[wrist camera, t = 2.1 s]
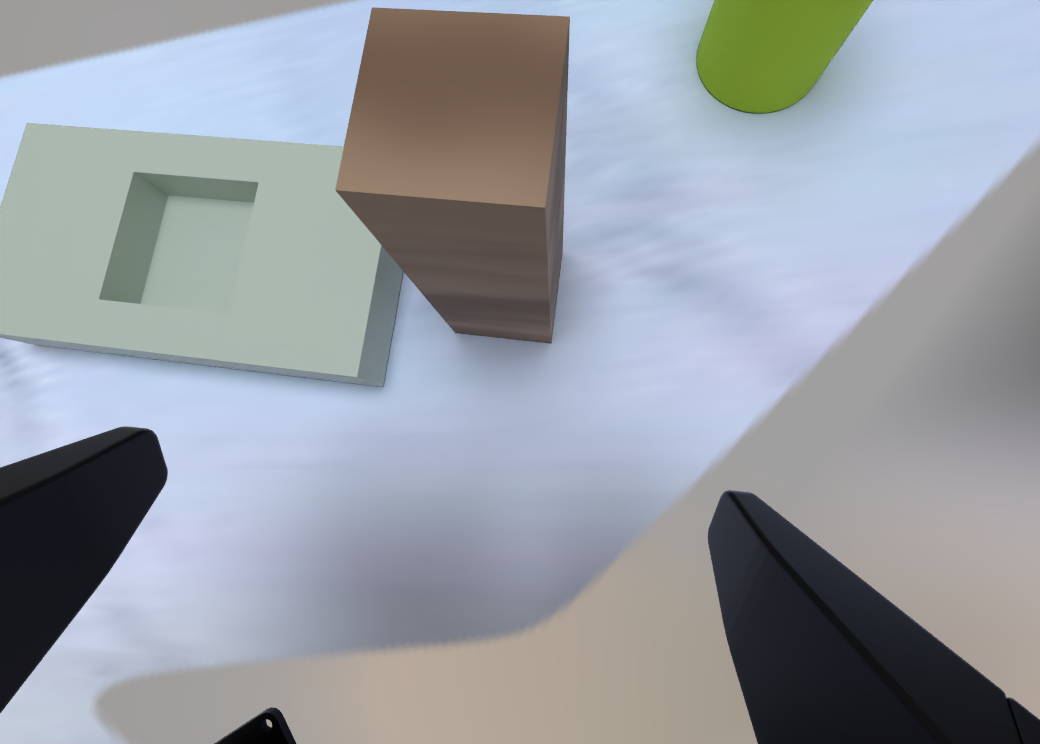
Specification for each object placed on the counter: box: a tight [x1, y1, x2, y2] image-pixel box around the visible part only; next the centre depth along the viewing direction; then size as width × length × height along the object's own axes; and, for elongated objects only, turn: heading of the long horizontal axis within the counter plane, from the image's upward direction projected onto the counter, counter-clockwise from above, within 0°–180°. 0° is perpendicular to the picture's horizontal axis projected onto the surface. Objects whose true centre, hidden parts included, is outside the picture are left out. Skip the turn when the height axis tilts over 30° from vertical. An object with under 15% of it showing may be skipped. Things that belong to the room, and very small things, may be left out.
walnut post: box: [335, 8, 570, 343], centre depth 17 cm, size 4×4×12 cm
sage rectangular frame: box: [0, 123, 403, 387], centre depth 23 cm, size 18×10×3 cm, turn 83°
